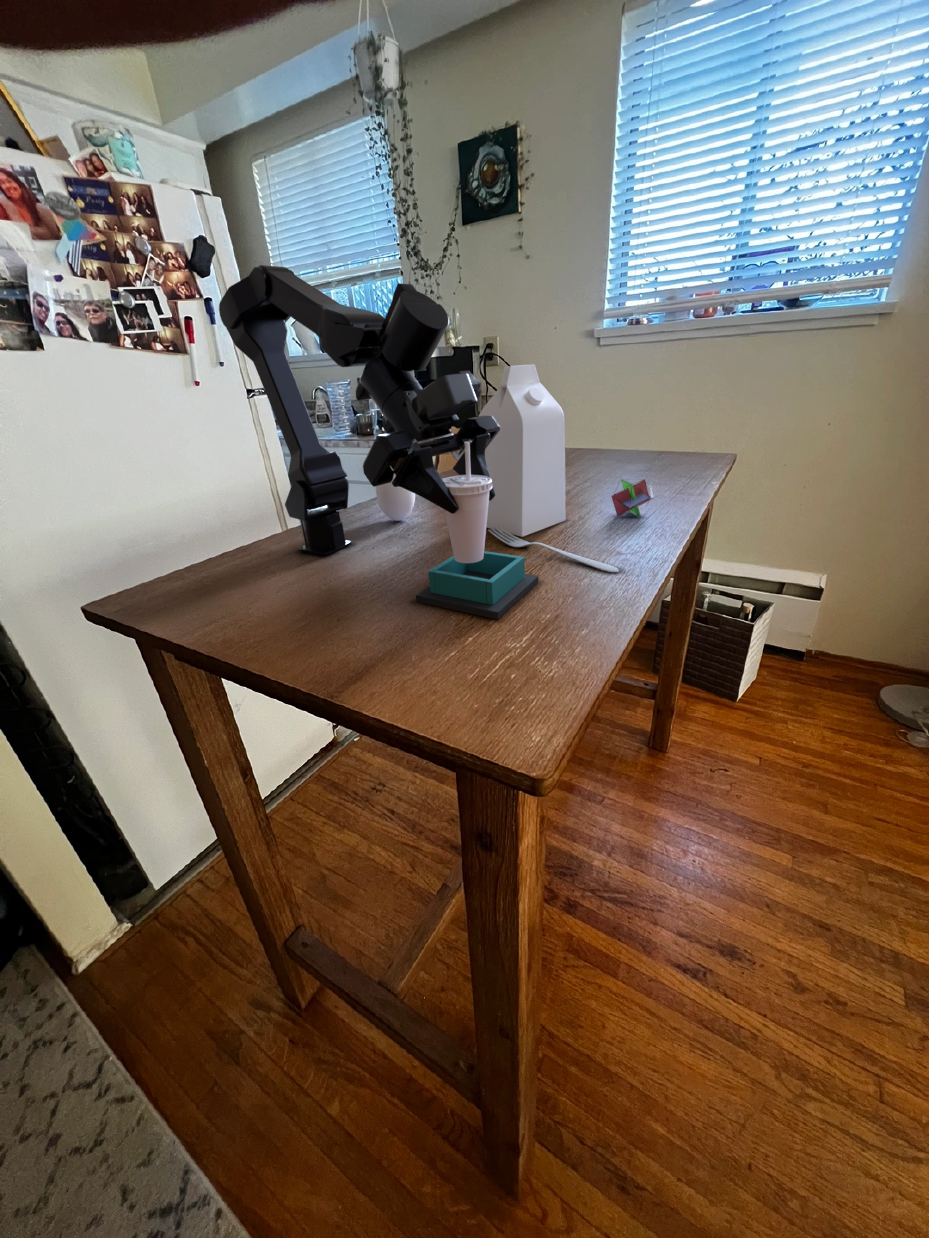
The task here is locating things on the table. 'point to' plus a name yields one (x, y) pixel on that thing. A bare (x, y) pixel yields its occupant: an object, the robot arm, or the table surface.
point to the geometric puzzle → (631, 497)
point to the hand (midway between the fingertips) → (474, 504)
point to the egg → (395, 501)
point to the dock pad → (478, 585)
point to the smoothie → (468, 513)
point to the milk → (525, 455)
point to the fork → (578, 558)
